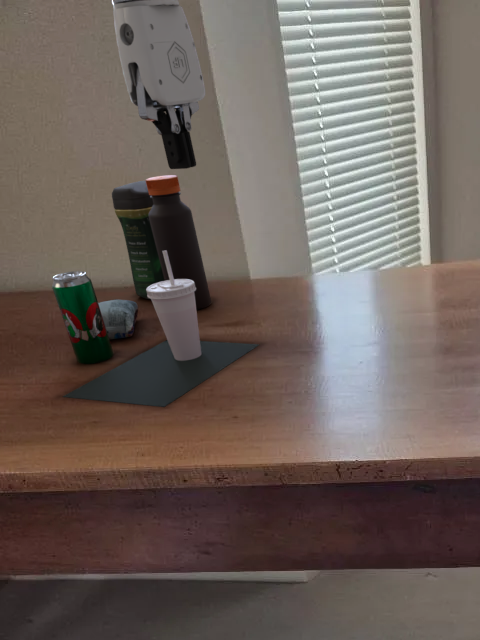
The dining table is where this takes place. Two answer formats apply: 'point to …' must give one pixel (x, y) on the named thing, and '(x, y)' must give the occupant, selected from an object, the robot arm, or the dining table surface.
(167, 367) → the mat
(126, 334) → the packaged food
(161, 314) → the smoothie
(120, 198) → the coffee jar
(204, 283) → the vinegar
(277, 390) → the dining table surface
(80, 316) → the soda can
